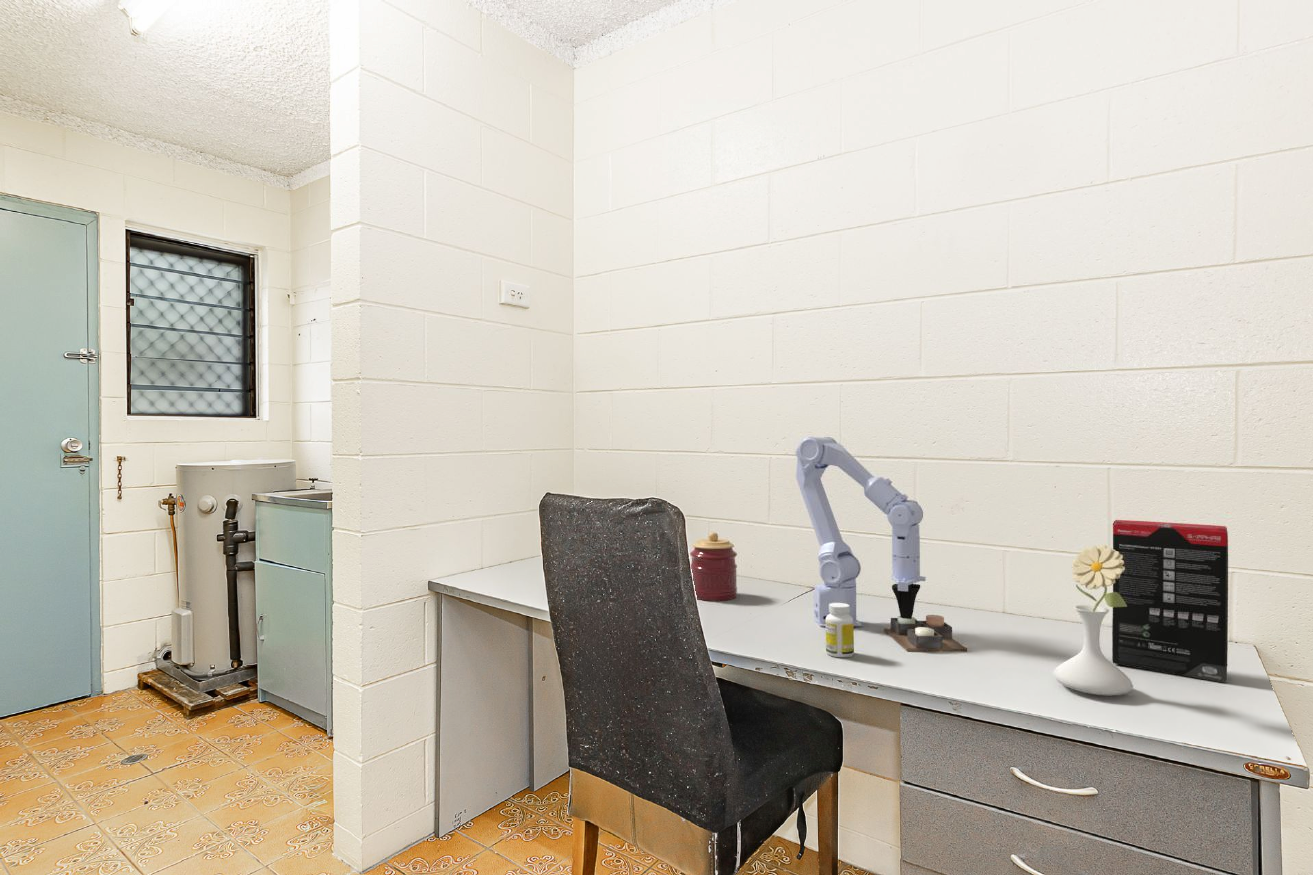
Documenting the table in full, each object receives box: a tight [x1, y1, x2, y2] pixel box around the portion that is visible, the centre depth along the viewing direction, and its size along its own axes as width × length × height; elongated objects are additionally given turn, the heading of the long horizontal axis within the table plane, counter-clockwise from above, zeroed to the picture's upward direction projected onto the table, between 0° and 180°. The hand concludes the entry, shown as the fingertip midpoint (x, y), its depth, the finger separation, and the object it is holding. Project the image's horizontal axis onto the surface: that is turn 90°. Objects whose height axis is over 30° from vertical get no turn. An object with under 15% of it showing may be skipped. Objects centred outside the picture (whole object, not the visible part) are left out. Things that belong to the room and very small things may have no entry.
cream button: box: [915, 627, 934, 636], centre depth 140 cm, size 4×4×3 cm
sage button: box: [897, 615, 916, 624], centre depth 149 cm, size 4×4×3 cm
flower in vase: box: [1053, 544, 1134, 697], centre depth 115 cm, size 13×11×25 cm
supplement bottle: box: [825, 603, 855, 659], centre depth 136 cm, size 5×5×10 cm
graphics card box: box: [1111, 519, 1229, 683], centre depth 125 cm, size 17×7×27 cm, turn 53°
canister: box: [689, 531, 738, 602], centre depth 188 cm, size 13×13×18 cm
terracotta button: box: [925, 614, 945, 627], centre depth 147 cm, size 4×4×3 cm
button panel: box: [883, 617, 968, 653], centre depth 145 cm, size 12×15×3 cm
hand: (906, 618), depth 149 cm, fingers closed, pressing on sage button
